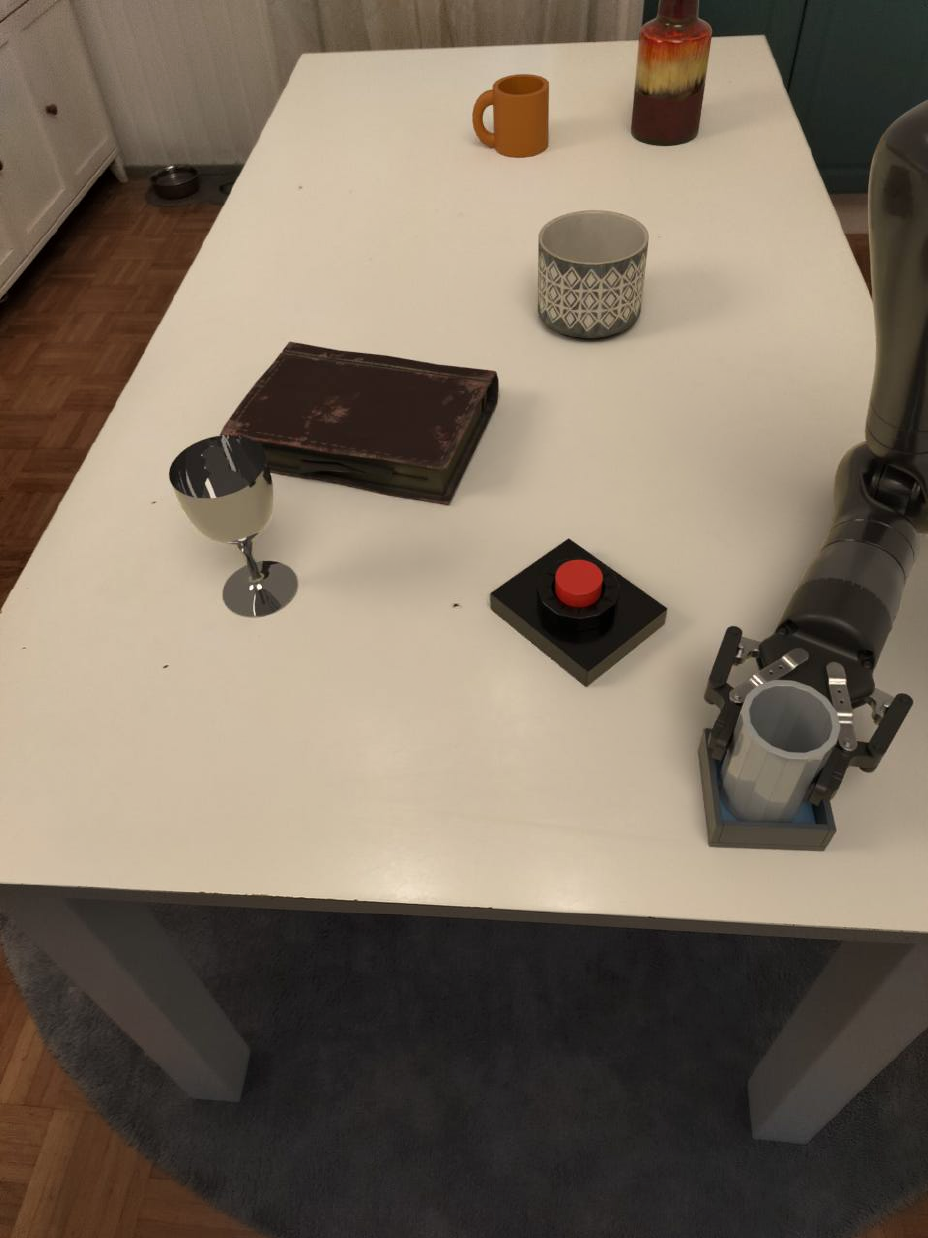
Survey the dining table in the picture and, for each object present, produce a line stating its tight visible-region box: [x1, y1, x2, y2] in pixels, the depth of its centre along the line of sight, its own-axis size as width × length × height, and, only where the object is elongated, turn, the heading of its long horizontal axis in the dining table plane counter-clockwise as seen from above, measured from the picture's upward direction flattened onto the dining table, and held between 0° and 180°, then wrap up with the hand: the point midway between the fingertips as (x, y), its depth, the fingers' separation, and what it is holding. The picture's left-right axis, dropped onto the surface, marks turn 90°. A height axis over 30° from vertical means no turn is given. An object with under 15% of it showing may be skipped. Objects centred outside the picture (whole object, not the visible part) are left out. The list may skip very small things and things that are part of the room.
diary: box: [219, 341, 500, 505], centre depth 95 cm, size 19×25×5 cm
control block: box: [489, 538, 668, 688], centre depth 78 cm, size 12×10×4 cm
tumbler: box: [718, 680, 840, 823], centre depth 62 cm, size 6×6×10 cm
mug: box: [471, 73, 550, 158], centre depth 140 cm, size 9×12×9 cm
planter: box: [537, 209, 650, 339], centre depth 106 cm, size 13×13×10 cm
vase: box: [630, 0, 713, 147], centre depth 136 cm, size 11×11×20 cm
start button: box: [555, 560, 603, 607], centre depth 76 cm, size 4×4×2 cm
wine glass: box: [168, 435, 299, 618], centre depth 78 cm, size 8×8×15 cm
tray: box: [697, 727, 837, 852], centre depth 65 cm, size 8×8×3 cm
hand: (766, 774), depth 60 cm, fingers closed on tumbler, 6 cm apart
